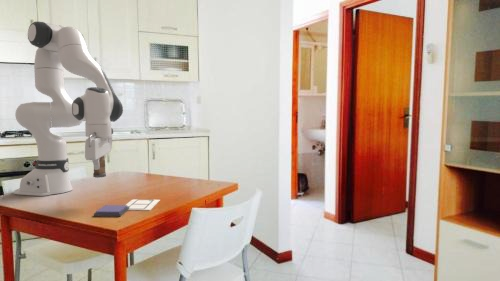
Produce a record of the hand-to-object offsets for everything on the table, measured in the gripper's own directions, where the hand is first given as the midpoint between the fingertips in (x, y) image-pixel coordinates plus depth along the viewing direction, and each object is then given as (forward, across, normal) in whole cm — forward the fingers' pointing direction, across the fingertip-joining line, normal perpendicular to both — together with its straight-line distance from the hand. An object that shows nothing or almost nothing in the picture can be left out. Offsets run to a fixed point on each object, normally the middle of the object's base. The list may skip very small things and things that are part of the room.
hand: (99, 168), depth 133 cm
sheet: (+14, -2, -16) cm, 21 cm away
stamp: (+3, 0, 0) cm, 3 cm away
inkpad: (+14, -12, -8) cm, 19 cm away
